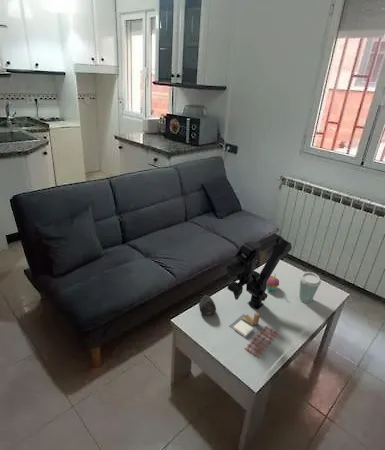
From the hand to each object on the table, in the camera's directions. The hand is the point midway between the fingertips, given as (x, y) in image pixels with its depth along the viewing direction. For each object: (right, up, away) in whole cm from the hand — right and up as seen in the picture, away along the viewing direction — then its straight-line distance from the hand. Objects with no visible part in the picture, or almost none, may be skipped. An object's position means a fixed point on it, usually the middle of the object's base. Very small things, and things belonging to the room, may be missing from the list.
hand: (241, 295), depth 150 cm
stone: (-17, -10, +5) cm, 20 cm away
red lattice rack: (+7, -20, -10) cm, 23 cm away
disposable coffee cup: (+37, -7, +19) cm, 42 cm away
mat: (+2, -15, -3) cm, 15 cm away
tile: (+2, -14, -3) cm, 14 cm away
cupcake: (+20, -2, +25) cm, 32 cm away
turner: (+5, -13, 0) cm, 14 cm away
